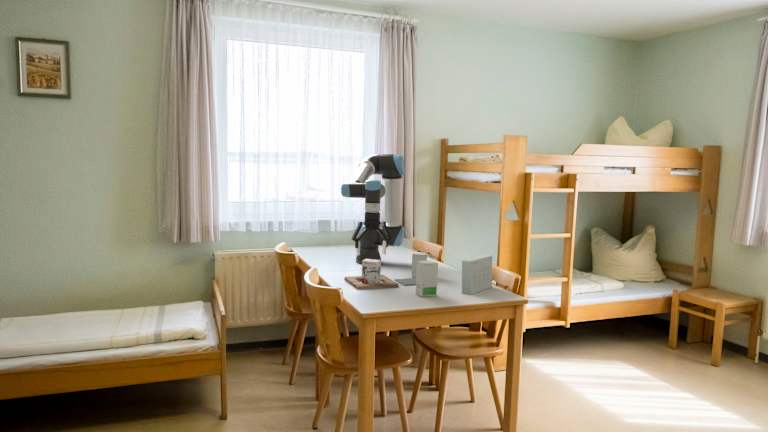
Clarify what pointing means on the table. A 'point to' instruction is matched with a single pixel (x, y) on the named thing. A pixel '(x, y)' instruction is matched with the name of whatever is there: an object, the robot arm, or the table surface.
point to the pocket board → (386, 284)
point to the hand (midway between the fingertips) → (371, 254)
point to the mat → (407, 281)
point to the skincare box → (426, 278)
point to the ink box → (371, 271)
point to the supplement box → (416, 257)
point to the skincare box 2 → (476, 274)
